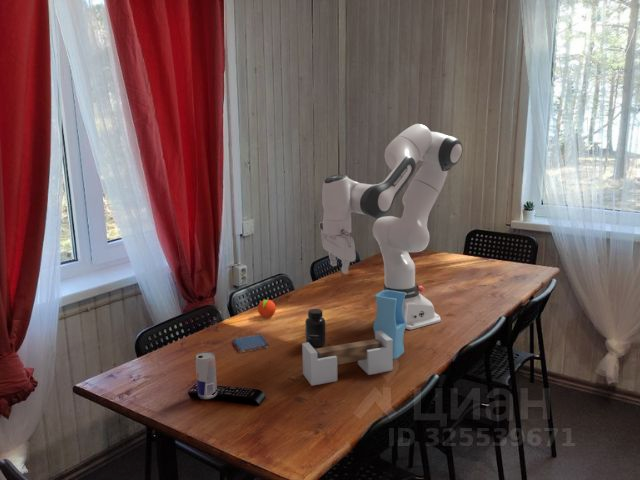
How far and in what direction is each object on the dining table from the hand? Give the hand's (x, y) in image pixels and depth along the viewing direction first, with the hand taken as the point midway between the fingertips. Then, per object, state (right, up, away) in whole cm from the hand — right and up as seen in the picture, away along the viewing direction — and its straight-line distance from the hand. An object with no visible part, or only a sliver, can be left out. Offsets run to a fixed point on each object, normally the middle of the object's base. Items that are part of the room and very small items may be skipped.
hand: (339, 269), depth 182 cm
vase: (+17, -28, +3) cm, 32 cm away
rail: (+2, -27, -11) cm, 29 cm away
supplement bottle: (-8, -26, +12) cm, 30 cm away
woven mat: (-30, -27, +12) cm, 42 cm away
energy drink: (-38, -35, -22) cm, 56 cm away
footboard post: (-5, -32, -13) cm, 34 cm away
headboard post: (+10, -30, -7) cm, 32 cm away
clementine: (-27, -21, +38) cm, 51 cm away
